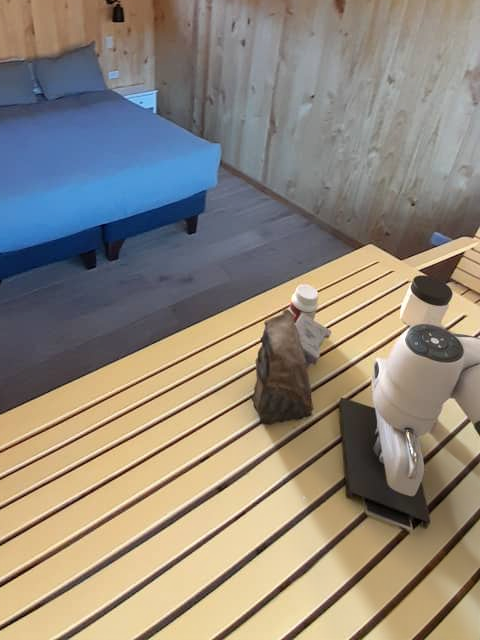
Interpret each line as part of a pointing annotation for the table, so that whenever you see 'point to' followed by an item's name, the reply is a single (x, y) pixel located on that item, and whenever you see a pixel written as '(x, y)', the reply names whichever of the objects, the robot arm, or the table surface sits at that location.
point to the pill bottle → (304, 302)
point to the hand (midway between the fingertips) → (382, 448)
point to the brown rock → (282, 373)
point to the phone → (387, 515)
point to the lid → (372, 463)
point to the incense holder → (311, 337)
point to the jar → (425, 301)
